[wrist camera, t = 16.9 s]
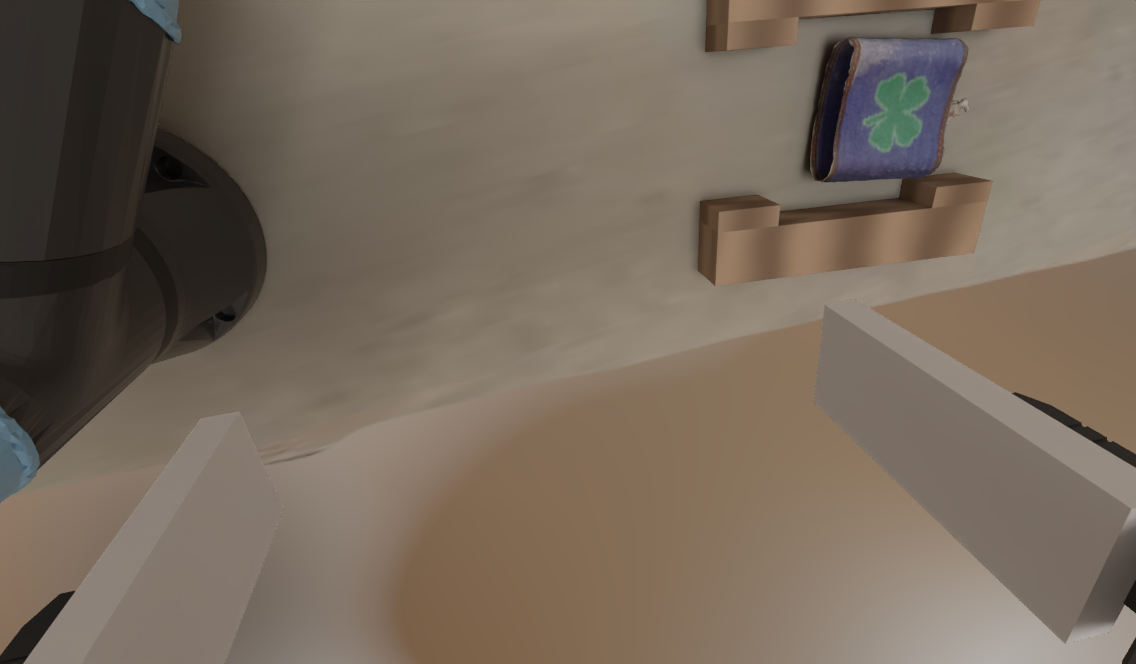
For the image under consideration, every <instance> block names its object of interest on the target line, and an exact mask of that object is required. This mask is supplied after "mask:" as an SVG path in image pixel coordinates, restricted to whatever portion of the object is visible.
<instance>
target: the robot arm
mask: <svg viewBox="0 0 1136 664" xmlns="http://www.w3.org/2000/svg"><path fill="white" fill-rule="evenodd" d="M179 1H180V0H0V503H1V502H2V501H3V500H5V499H6V498H8V497H9V496H10V495H12V494H14V493H16V492H18V491H19V490H20V489H22V488H23V487H25V486H26V485H27V484H28V483H29V482H31V480H32V479H33V478H34V477H35V476H36V471H37V470H38V469H39V468H40V467H41V466H42V465H44V464H45V463H46V462H47V461H48V460H49V459H50V458H51V457H52V456H53V455H54V454H55V453H56V452H57V451H59V450H60V449H61V448H62V447H63V446H64V445H65V444H66V443H67V442H68V441H69V440H70V439H71V438H72V437H73V436H75V435H76V434H77V433H78V432H79V431H80V430H81V429H82V428H83V427H84V426H85V425H86V424H87V423H88V422H90V421H91V420H92V419H93V418H94V417H95V416H96V415H97V414H98V413H99V412H100V411H101V410H102V409H103V408H105V407H106V406H107V405H108V404H109V403H110V402H111V401H112V400H113V399H114V398H115V397H116V396H117V395H118V394H120V393H121V392H122V391H123V390H124V389H125V388H126V387H127V386H128V385H129V384H130V383H131V382H132V381H133V380H135V379H136V378H137V377H138V376H139V375H140V374H141V373H142V372H143V371H144V370H145V369H146V368H147V367H148V366H149V365H150V364H153V363H157V362H160V361H163V360H166V359H170V358H173V357H176V356H180V355H183V354H186V353H189V352H193V351H195V350H198V349H201V348H203V347H205V346H207V345H209V344H211V343H212V342H214V341H216V340H218V339H219V338H221V337H222V336H223V335H225V334H226V333H227V332H228V331H230V330H231V329H232V328H233V327H234V326H235V325H236V324H237V323H238V322H239V321H240V320H241V318H242V317H243V316H244V315H245V314H246V313H247V312H248V311H249V309H250V308H251V307H252V305H253V304H254V302H255V301H256V299H257V297H258V295H259V293H260V290H261V287H262V285H263V281H264V277H265V270H266V250H265V243H264V238H263V234H262V231H261V228H260V225H259V222H258V220H257V217H256V215H255V213H254V211H253V209H252V207H251V205H250V204H249V202H248V201H247V199H246V197H245V196H244V194H243V193H242V192H241V190H240V189H239V188H238V186H237V185H236V184H235V183H234V181H233V180H232V179H231V178H230V177H229V176H228V175H227V174H226V173H225V172H224V171H223V170H222V169H221V168H220V167H219V166H218V165H217V164H215V163H214V162H213V161H212V160H211V159H210V158H208V157H207V156H206V155H204V154H203V153H202V152H200V151H199V150H197V149H196V148H194V147H193V146H191V145H189V144H187V143H186V142H184V141H182V140H180V139H178V138H176V137H174V136H172V135H170V134H168V133H165V132H163V131H160V130H158V129H157V126H158V121H159V116H160V111H161V106H162V101H163V96H164V91H165V86H166V81H167V76H168V71H169V66H170V61H171V56H172V51H173V46H174V43H176V44H180V41H181V37H182V33H181V28H180V27H179V25H178V24H177V16H178V8H179ZM814 403H815V404H816V405H817V406H818V407H819V408H820V409H821V410H822V411H823V412H824V413H825V414H826V415H827V416H828V417H829V418H830V419H831V420H832V421H834V423H836V424H837V425H838V426H839V427H840V428H841V429H842V430H843V431H844V432H845V433H846V434H847V435H848V436H849V437H850V438H851V439H852V440H853V441H855V443H856V444H857V445H858V446H860V447H861V448H862V449H863V450H864V451H865V452H866V453H867V454H868V455H869V456H870V457H871V458H872V459H873V460H874V461H875V462H876V463H877V464H878V465H879V466H880V467H881V468H882V469H883V470H885V471H886V472H887V473H888V474H889V475H890V476H891V477H892V478H893V479H894V480H895V481H896V482H897V483H898V484H899V485H900V486H901V487H902V488H903V489H904V490H905V491H906V492H907V493H908V494H910V495H911V496H912V497H913V498H914V499H915V500H916V501H917V502H918V503H919V504H920V505H921V506H922V507H923V508H924V509H925V510H926V511H927V512H928V513H929V514H930V515H931V516H933V517H934V518H935V519H936V520H937V521H938V522H939V523H940V524H941V525H942V526H943V527H944V528H945V529H946V530H947V531H948V532H949V533H950V534H951V535H952V536H953V537H954V538H955V539H957V541H959V542H960V543H961V544H962V545H963V546H964V547H965V548H966V549H967V550H968V551H969V552H970V553H971V554H972V555H973V556H974V557H975V558H976V559H977V560H978V561H979V562H980V563H981V564H982V565H984V566H985V567H986V568H987V569H988V570H989V571H990V572H991V573H992V574H993V575H994V576H995V577H996V578H997V579H998V580H999V581H1000V582H1001V583H1002V584H1003V585H1004V586H1005V587H1007V588H1008V589H1009V590H1010V591H1011V592H1012V593H1013V594H1014V595H1015V596H1016V597H1017V598H1018V599H1019V600H1020V601H1021V602H1022V603H1023V604H1024V605H1025V606H1026V607H1027V608H1028V609H1029V610H1030V611H1031V612H1033V613H1034V614H1035V615H1036V616H1037V617H1038V618H1039V619H1040V620H1041V621H1042V622H1043V623H1044V624H1045V625H1046V626H1047V627H1048V628H1049V629H1050V630H1051V631H1052V632H1053V633H1055V635H1057V636H1058V637H1059V638H1060V639H1061V640H1062V641H1063V642H1064V643H1065V644H1067V643H1071V642H1075V641H1078V640H1082V639H1086V638H1090V637H1093V636H1097V635H1101V634H1105V633H1108V632H1110V631H1111V629H1112V627H1113V625H1114V623H1115V621H1116V619H1117V618H1118V616H1119V614H1120V612H1121V610H1122V608H1123V606H1124V605H1126V606H1127V607H1129V608H1130V609H1131V610H1132V611H1134V612H1135V613H1136V454H1134V453H1133V452H1131V451H1129V450H1127V449H1125V448H1124V447H1122V446H1120V445H1119V444H1117V443H1115V442H1108V441H1107V437H1105V436H1103V435H1101V434H1100V433H1098V432H1096V431H1094V430H1093V429H1091V428H1089V427H1088V426H1087V427H1083V426H1082V425H1081V422H1079V421H1077V420H1076V419H1074V418H1072V417H1070V416H1069V415H1067V414H1065V413H1064V412H1062V411H1060V410H1058V409H1056V408H1055V407H1053V406H1051V405H1049V404H1046V403H1043V402H1041V401H1038V400H1035V399H1032V398H1029V397H1027V396H1024V395H1022V394H1019V393H1016V392H1015V393H1010V392H1008V391H1007V390H1005V389H1003V388H1002V387H1000V386H998V385H997V384H995V383H993V382H992V381H990V380H988V379H987V378H985V377H983V376H982V375H980V374H978V373H976V372H975V371H973V370H972V369H970V368H968V367H967V366H965V365H963V364H962V363H960V362H958V361H957V360H955V359H953V358H951V357H950V356H948V355H947V354H945V353H943V352H942V351H940V350H938V349H937V348H935V347H933V346H931V345H930V344H928V343H927V342H925V341H923V340H922V339H920V338H918V337H917V336H915V335H913V334H912V333H910V332H908V331H906V330H905V329H903V328H902V327H900V326H898V325H896V324H895V323H893V322H892V321H890V320H888V319H886V318H885V317H883V316H882V315H880V314H878V313H877V312H875V311H873V310H872V309H870V308H868V307H867V306H865V305H863V304H862V303H860V302H858V301H857V300H850V301H845V302H839V303H834V304H828V305H825V309H824V317H823V327H822V334H821V343H820V352H819V360H818V368H817V376H816V385H815V393H814ZM283 511H284V507H283V505H282V503H281V501H280V498H279V496H278V494H277V492H276V490H275V488H274V485H273V483H272V481H271V479H270V477H269V475H268V473H267V470H266V468H265V466H264V464H263V462H262V459H261V457H260V455H259V453H258V451H257V449H256V446H255V444H254V442H253V440H252V438H251V436H250V433H249V431H248V429H247V427H246V425H245V423H244V420H243V418H242V416H241V414H240V412H239V411H238V412H232V413H227V414H221V415H216V416H210V417H205V418H200V420H199V421H198V422H197V424H196V425H195V427H194V428H193V429H192V431H191V432H190V433H189V435H188V436H187V438H186V439H185V440H184V442H183V443H182V445H181V446H180V447H179V449H178V450H177V451H176V453H175V454H174V456H173V457H172V458H171V460H170V461H169V463H168V464H167V465H166V467H165V468H164V469H163V471H162V472H161V474H160V475H159V476H158V478H157V479H156V481H155V482H154V483H153V485H152V486H151V487H150V489H149V490H148V492H147V493H146V494H145V496H144V497H143V499H142V500H141V501H140V503H139V504H138V505H137V507H136V508H135V510H134V511H133V513H132V514H131V515H130V517H129V518H128V519H127V521H126V522H125V524H124V525H123V526H122V528H121V529H120V531H119V532H118V533H117V535H116V536H115V538H114V539H113V540H112V541H111V543H110V544H109V546H108V547H107V548H106V550H105V551H104V553H103V554H102V555H101V557H100V558H99V560H98V561H97V562H96V564H95V565H94V566H93V568H92V569H91V571H90V572H89V573H88V575H87V576H86V577H85V579H84V580H83V582H82V583H81V584H80V586H79V587H78V589H77V590H76V591H72V592H67V593H62V594H60V595H58V596H57V597H56V598H55V599H54V600H52V601H51V602H50V603H49V604H48V605H47V606H46V607H45V608H43V609H42V610H41V611H40V612H39V613H38V614H37V615H36V616H34V617H33V618H32V619H31V620H30V621H29V622H28V623H26V624H25V625H24V626H23V627H22V628H21V630H20V631H19V632H18V634H17V635H16V636H15V637H14V639H13V640H12V641H11V642H10V644H9V645H8V646H7V648H6V649H5V650H4V652H3V653H2V654H1V656H0V664H224V663H225V661H226V658H227V656H228V653H229V650H230V648H231V645H232V643H233V640H234V637H235V635H236V632H237V630H238V627H239V625H240V622H241V619H242V617H243V614H244V612H245V609H246V607H247V604H248V602H249V599H250V596H251V594H252V591H253V589H254V586H255V584H256V581H257V578H258V576H259V573H260V571H261V568H262V565H263V563H264V560H265V557H266V555H267V553H268V550H269V547H270V545H271V542H272V540H273V537H274V534H275V532H276V529H277V527H278V524H279V522H280V519H281V516H282V514H283ZM1122 664H1136V638H1135V640H1134V641H1133V643H1132V645H1131V647H1130V648H1129V650H1128V652H1127V654H1126V655H1125V657H1124V659H1123V661H1122Z"/></svg>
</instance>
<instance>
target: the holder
mask: <svg viewBox="0 0 1136 664" xmlns="http://www.w3.org/2000/svg"><path fill="white" fill-rule="evenodd" d="M1039 4H1040V0H707V22H706V52H711V51H724V50H736V49H749V48H761V47H774V46H786V45H796V40H797V30H798V20H799V19H811V18H824V17H837V16H851V15H864V14H877V13H890V12H904V11H917V10H930V9H936V11H935V16H934V21H933V26H932V32H931V34H934V33H947V32H960V31H972V30H985V29H997V28H1010V27H1022V26H1034V23H1035V19H1036V15H1037V12H1038V8H1039ZM992 182H993V181H990V180H986V179H981V178H976V177H972V176H967V175H962V174H958V173H951V174H942V175H933V176H928V177H921V178H906V179H903V182H902V187H901V192H900V198H896V199H887V200H878V201H869V202H861V203H852V204H843V205H834V206H826V207H817V208H808V209H799V210H791V211H782V212H780V205H779V204H777V203H775V202H772V201H770V200H768V199H766V198H763V197H761V196H759V195H752V196H743V197H734V198H725V199H716V200H707V201H700V228H699V258H698V271H699V272H700V273H701V274H703V275H704V276H705V277H706V278H707V279H708V280H709V281H710V282H711V283H713V284H714V285H715V286H719V285H727V284H735V283H742V282H750V281H758V280H766V279H774V278H782V277H789V276H797V275H805V274H813V273H821V272H829V271H836V270H844V269H852V268H860V267H868V266H875V265H883V264H891V263H899V262H907V261H915V260H922V259H930V258H938V257H946V256H954V255H962V254H969V253H974V251H975V247H976V243H977V239H978V236H979V232H980V228H981V224H982V220H983V217H984V213H985V209H986V205H987V201H988V198H989V194H990V190H991V186H992Z"/></svg>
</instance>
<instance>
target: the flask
mask: <svg viewBox="0 0 1136 664" xmlns="http://www.w3.org/2000/svg"><path fill="white" fill-rule="evenodd" d="M967 56H968V47H967V46H966V45H965V43H964V42H963V41H962V40H960V39H957V38H948V39H900V38H883V39H881V38H854V37H852V38H848V39H847V40H841V41H840V42H838V43H837V44H836V45H835V46H834V49H833V50H832V54H831V57H830V59H829V61H828V63H827V66H826V71H825V72H826V74H825V76H824V77H825V78H824V80H823V84H822V88H821V94H820V98H819V102H818V112H817V114H816V117H815V123H814V126H813V132H812V133H813V139H812V145H811V146H812V147H811V156H810V170H811V173H812V175H811V176H812V177H813V178H814V180H816V181H822V183H823V182H846V181H855V180H860V181H866V180H875V179H901V178H921V177H928V176H929V175H930V174H931V173H933V172H934V171H935V169H936V168H938V167H939V165H940V164H941V161H942V157H943V155H944V151H945V149H944V147H943V145H944V134H945V131H946V126H947V125H948V124H949V123H950V120H951V119H952V118H953V117H954V118H955V119H956V116H959V114H960V113H959V112H960V109H961V108H964V110H965V112H967V111H968V110H969V107H968V100H967V99H966V98H964V99H962V100H961V101H960V102H958V101H957V100H954V101H952V99H953V95H954V93H955V90H956V87H957V83H958V80H959V78H960V76H961V73H962V70H963V67H964V65H965V63H966V60H967Z"/></svg>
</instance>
